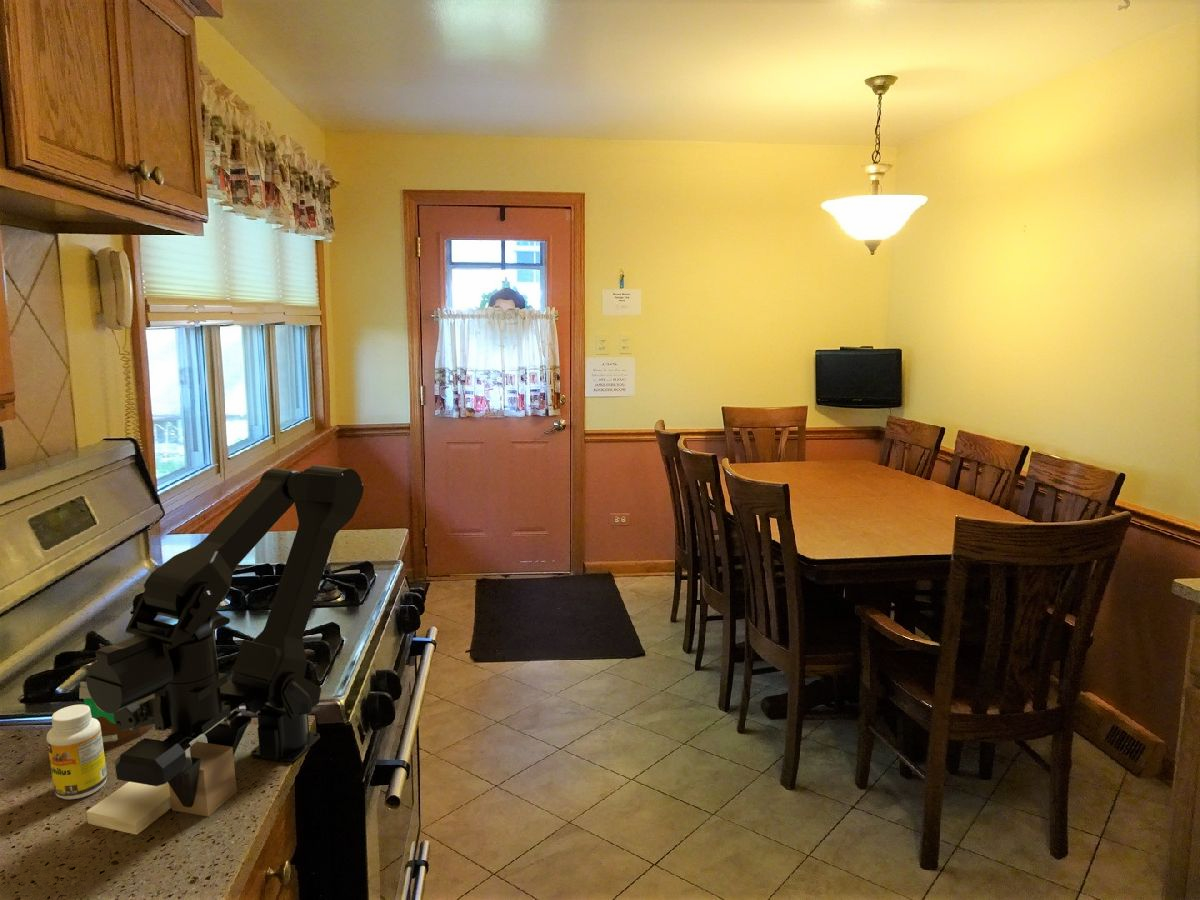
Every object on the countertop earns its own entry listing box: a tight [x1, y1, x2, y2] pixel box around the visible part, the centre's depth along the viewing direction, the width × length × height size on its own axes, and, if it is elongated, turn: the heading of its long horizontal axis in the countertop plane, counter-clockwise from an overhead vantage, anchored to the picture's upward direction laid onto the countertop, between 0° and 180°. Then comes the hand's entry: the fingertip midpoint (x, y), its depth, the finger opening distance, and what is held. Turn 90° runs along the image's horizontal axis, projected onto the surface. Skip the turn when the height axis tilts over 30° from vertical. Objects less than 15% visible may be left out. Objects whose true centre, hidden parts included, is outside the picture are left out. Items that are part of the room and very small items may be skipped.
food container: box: [78, 681, 155, 748], centre depth 114 cm, size 12×6×10 cm, turn 179°
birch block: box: [85, 781, 172, 836], centre depth 97 cm, size 7×7×2 cm
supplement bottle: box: [46, 704, 108, 800], centre depth 100 cm, size 6×6×10 cm
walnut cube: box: [169, 740, 238, 817], centre depth 98 cm, size 5×5×6 cm
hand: (204, 792), depth 99 cm, fingers closed on walnut cube, 5 cm apart
